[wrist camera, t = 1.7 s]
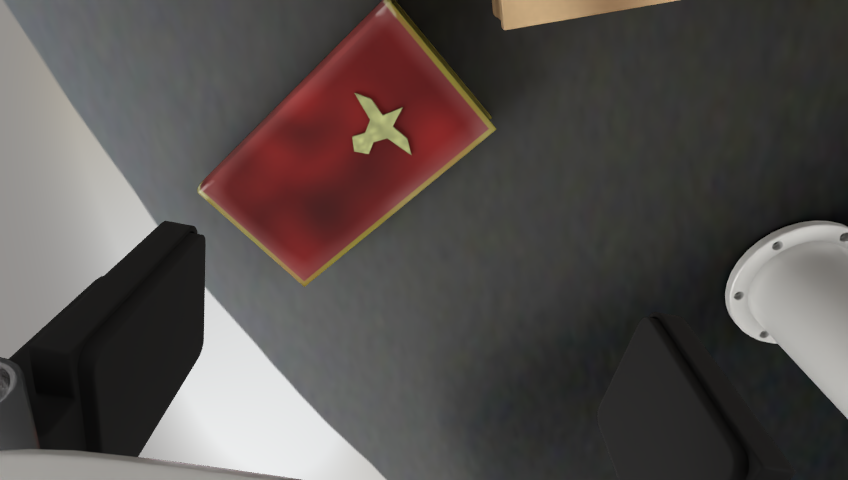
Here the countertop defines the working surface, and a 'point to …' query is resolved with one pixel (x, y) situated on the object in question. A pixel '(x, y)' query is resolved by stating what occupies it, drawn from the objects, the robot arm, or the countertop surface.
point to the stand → (557, 10)
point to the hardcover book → (348, 145)
